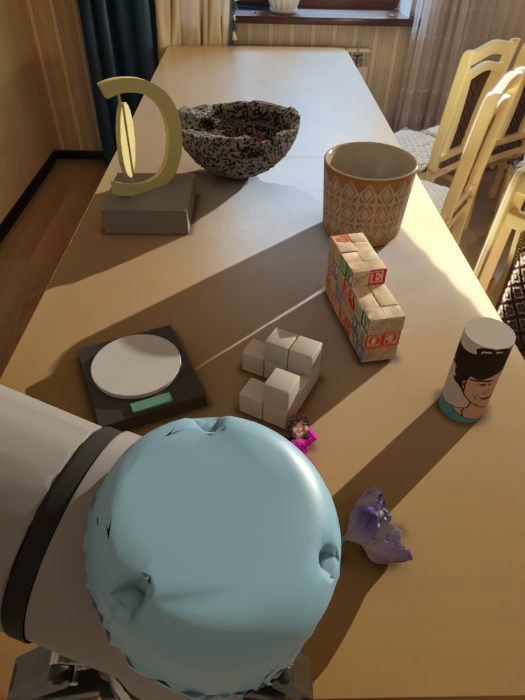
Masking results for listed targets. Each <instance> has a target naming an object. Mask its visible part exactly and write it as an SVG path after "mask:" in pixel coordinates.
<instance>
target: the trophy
mask: <svg viewBox="0 0 525 700" xmlns="http://www.w3.org/2000/svg"><path fill="white" fill-rule="evenodd" d="M96 86H97V87H98V89H99V90H100V92H101V94H102V96H103V97H104V98H105V99H107V100H109V99H112V98H113V97H115V96H117V99H118V105H117V107H116V113H115V140H116V143H115V144H116V150H117V151H116V153H117V157H118V163H119V166H120V170H121V172H117V173H116V175H115V177H114V179H113V180H110V188H109V190H108V192H107V195H106V197H105V199H104V201H103V203H102V204H101V205H102V206H101V207H100V209H99V211H100V215H101V220H102V225H103V230H104V233H105V234H165V235H166V234H169V235H170V234H171V235H172V234H173V235H174V234H175V235H176V234H178V235H188V234H190V229H191V224H192V220H193V214H194V209H195V203H196V198H197V187H196V174H195V173H177V172H178V169H179V167H180V163H181V158H182V154H183V146H182V127H181V121H180V117H179V114H178V111H177V110H178V108H177V106H176V104H175V102H174V101H173V99H172V98H171V96H170V95H169V94H168V93H167V92H166V90H164V89H163V88H162V87H161V86H159V85H157V84H155V82H151V81H149V80H147V79H144V78H140V77H138V76H137V77H136V76H123V75H122V76H113V77H108V78H105V79H103V80H100V81H98V82H96ZM127 93H128V94H129V93H134V94H140V95H144V96H146V97H147V98H148V99H150V100H151V101H152V102H153V103H154V104H155V106H156V108H157V109H158V111H159V113H160V115H161V117H162V120H163V125H164V129H165V130H164V131H165V151H164V156H163V160H162V163H161V166H160V167H159V169H158V170H157V171H156V172H135V169H136V168H135V167H136V137H135V127H134V121H133V116H132V113H131V109H130V106H129V104H128V103H127V102H126V101H122V98H121V95H122V94H127Z"/></svg>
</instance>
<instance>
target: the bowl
mask: <svg viewBox="0 0 525 700" xmlns="http://www.w3.org/2000/svg"><path fill="white" fill-rule="evenodd" d="M177 111H178V114H179V117H180V121H181V127H182V149H184V152H186V154H188V156H189V157H190V158H191V159H192V160H193V161H194V162H195V164H197V165H198V166H200V168H203V170H205V171H207V172H210V173H212V174H215V175H217V176H220V177H223V178H228V179H236V180H242V179H243V180H244V179H249V178H254V177H256V176H259V175H261V174H263V173H266V172H268V171H269V170H271V169H273V168H275V166H276V165H277V164H279V163H280V162H281V161H282V160H283V159H284V158H285V157H286V156H287V154H288V153H289V152H290V150H291V149H292V146H293V145H294V143H295V142H296V140H297V137H298V134H299V131H300V128H301V114H300V112H299V110H297V109H296V108H295V107H293V106H288V107H287V106H283V105H279V104H276V103H274V102H269V101H265V100H257V99H254V100H251V101H247V100H236V101H232V102H222V103H221V102H219V103H214V104H200V105H197V106H193V107H191V106H187V105H183V106H180V107H179V108H177Z"/></svg>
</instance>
